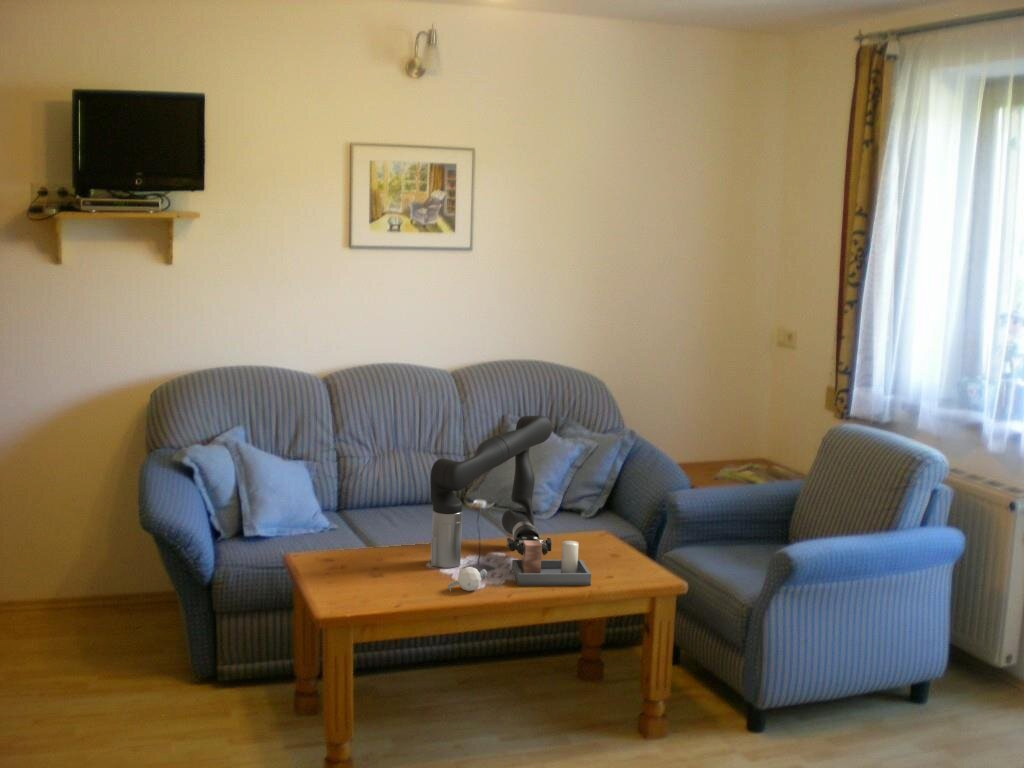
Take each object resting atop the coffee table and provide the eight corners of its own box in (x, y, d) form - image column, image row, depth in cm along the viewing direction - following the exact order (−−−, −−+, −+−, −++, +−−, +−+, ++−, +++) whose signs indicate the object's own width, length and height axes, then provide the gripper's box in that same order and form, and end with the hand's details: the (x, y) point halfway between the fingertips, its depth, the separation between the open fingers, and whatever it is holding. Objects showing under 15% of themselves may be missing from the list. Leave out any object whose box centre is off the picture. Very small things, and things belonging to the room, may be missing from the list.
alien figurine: (456, 602, 318) (493, 586, 321) (448, 580, 316) (486, 564, 319) (449, 594, 325) (486, 578, 328) (442, 572, 323) (479, 557, 326)
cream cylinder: (562, 577, 334) (563, 545, 333) (559, 571, 339) (560, 540, 338) (578, 577, 335) (580, 545, 334) (575, 571, 340) (576, 540, 339)
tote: (518, 585, 328) (518, 574, 328) (511, 570, 342) (512, 559, 341) (590, 585, 331) (591, 574, 331) (581, 570, 345) (581, 559, 344)
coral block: (523, 577, 333) (525, 545, 331) (521, 571, 338) (523, 540, 336) (540, 577, 333) (542, 545, 332) (537, 572, 338) (539, 540, 337)
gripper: (503, 524, 347) (510, 539, 330) (548, 524, 349) (557, 539, 332) (502, 547, 348) (509, 563, 331) (547, 547, 350) (556, 563, 334)
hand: (533, 551), depth 332 cm, fingers open, 6 cm apart
